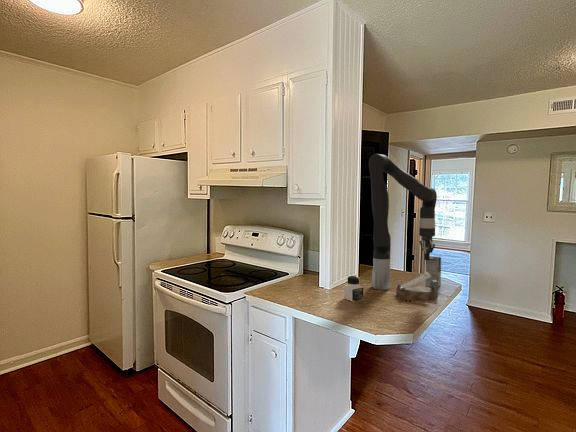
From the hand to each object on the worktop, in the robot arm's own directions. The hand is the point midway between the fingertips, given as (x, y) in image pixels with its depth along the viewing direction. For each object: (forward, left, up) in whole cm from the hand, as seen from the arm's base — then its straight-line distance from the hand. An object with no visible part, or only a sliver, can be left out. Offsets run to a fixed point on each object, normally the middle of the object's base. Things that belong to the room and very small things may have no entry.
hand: (426, 260), depth 167 cm
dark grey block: (+4, 0, -19) cm, 20 cm away
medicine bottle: (-38, -2, -19) cm, 43 cm away
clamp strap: (-6, 0, -12) cm, 13 cm away
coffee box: (+13, +20, -19) cm, 30 cm away
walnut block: (-6, 0, -19) cm, 20 cm away
